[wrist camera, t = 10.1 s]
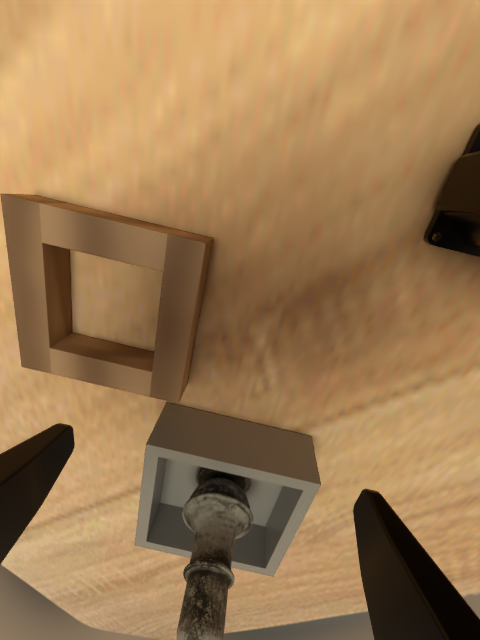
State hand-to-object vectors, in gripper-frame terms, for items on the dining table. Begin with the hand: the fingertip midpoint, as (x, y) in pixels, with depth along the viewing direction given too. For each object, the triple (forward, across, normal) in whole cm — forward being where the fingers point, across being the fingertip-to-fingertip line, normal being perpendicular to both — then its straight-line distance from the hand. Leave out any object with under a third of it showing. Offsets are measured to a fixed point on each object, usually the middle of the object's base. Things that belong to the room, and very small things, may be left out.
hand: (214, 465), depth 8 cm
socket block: (+12, +9, +1) cm, 16 cm away
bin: (+12, -1, +17) cm, 21 cm away
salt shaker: (+12, -1, +16) cm, 20 cm away
